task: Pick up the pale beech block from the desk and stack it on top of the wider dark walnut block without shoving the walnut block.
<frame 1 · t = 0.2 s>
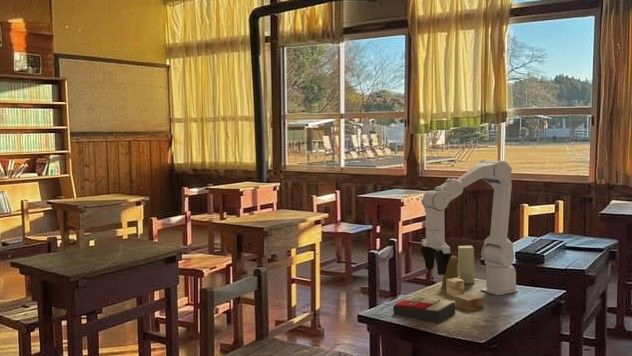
hand: (435, 271, 190), 10 cm above the table, tool pointing down, fingers open, 7 cm apart
walnut base: (469, 307, 186), on the table
beech block: (455, 294, 200), on the table
box: (466, 282, 216), on the table
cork: (450, 287, 210), on the table
calculator: (424, 315, 180), on the table
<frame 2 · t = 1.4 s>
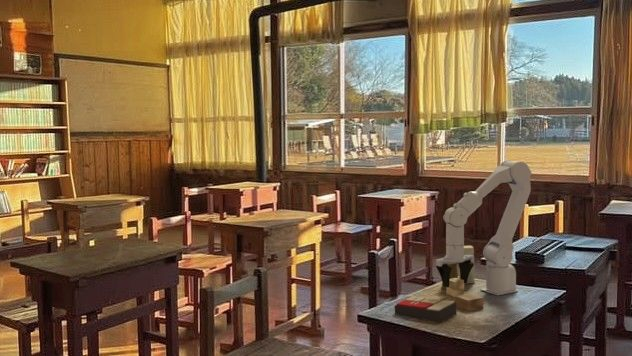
hand: (454, 285, 200), 3 cm above the table, tool pointing down, fingers open, 7 cm apart
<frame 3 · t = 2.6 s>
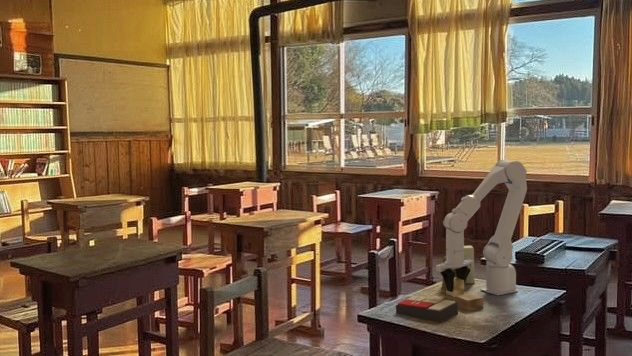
hand: (455, 290, 200), 1 cm above the table, tool pointing down, fingers closed on beech block, 4 cm apart
beech block: (455, 294, 200), on the table, touching gripper
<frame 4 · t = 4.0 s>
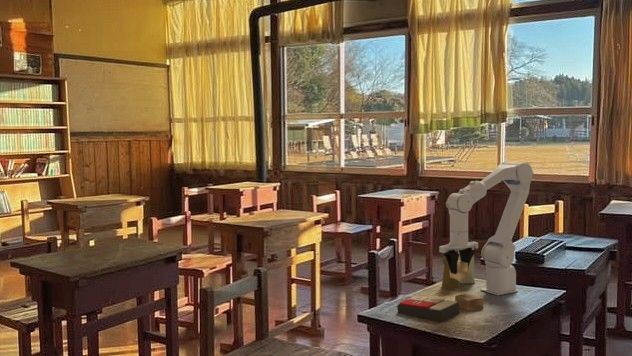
hand: (459, 272, 195), 8 cm above the table, tool pointing down, fingers closed on beech block, 4 cm apart
beech block: (458, 277, 195), point 7 cm above the table, touching gripper
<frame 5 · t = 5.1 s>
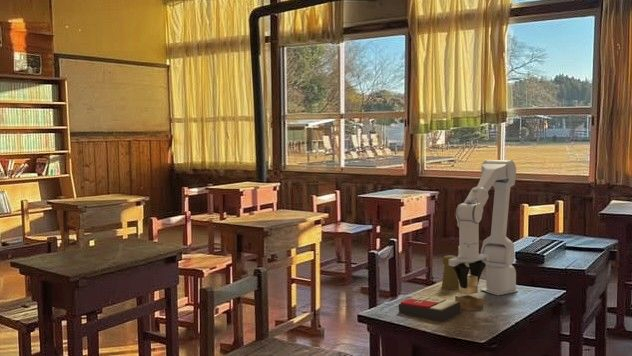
hand: (469, 286, 185), 6 cm above the table, tool pointing down, fingers closed on beech block, 4 cm apart
beech block: (468, 292, 186), point 5 cm above the table, touching gripper
when the fingers open (6 cm above the table, at t = 5.7 s): beech block drops 1 cm, resting on walnut base.
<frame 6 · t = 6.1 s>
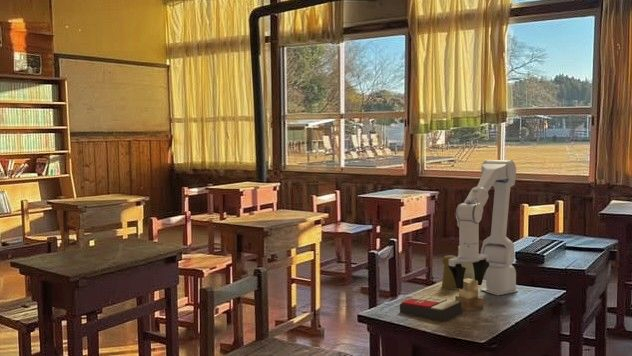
hand: (469, 286, 185), 6 cm above the table, tool pointing down, fingers open, 7 cm apart
walnut base: (469, 307, 186), on the table, touching beech block
beech block: (468, 296, 186), point 3 cm above the table, touching walnut base
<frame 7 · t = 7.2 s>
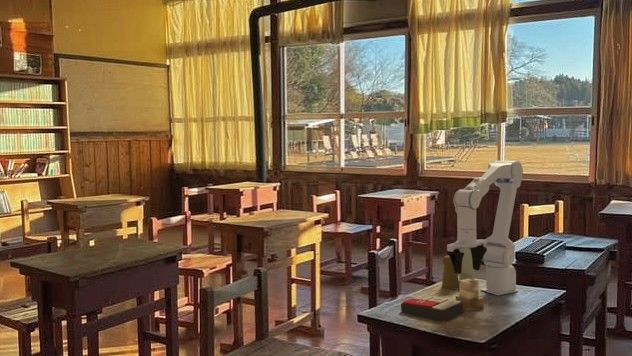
hand: (467, 271, 188), 10 cm above the table, tool pointing down, fingers open, 7 cm apart
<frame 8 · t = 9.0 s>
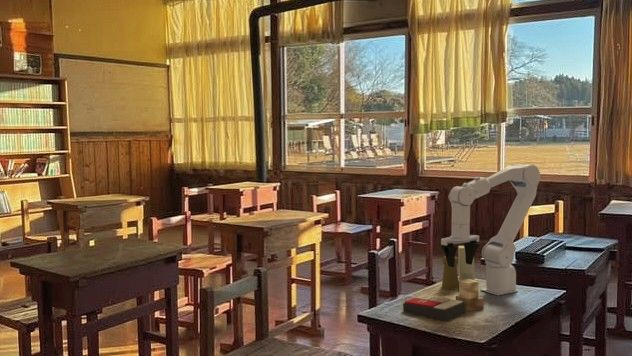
hand: (460, 265, 197), 10 cm above the table, tool pointing down, fingers open, 7 cm apart
at the end: beech block 0.2 cm off-centre on the walnut base, point 3.5 cm above the walnut base's base; beech block tilted 0°; walnut base moved 0.4 cm from its start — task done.
